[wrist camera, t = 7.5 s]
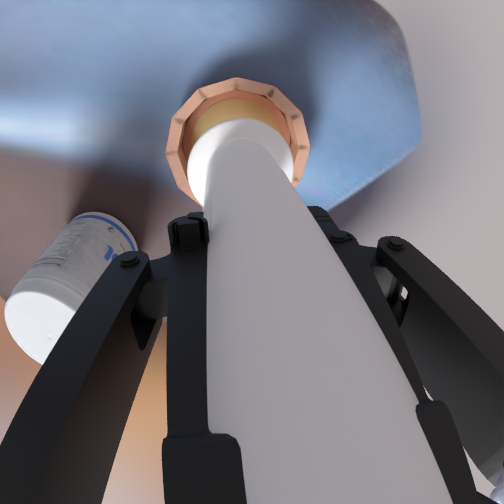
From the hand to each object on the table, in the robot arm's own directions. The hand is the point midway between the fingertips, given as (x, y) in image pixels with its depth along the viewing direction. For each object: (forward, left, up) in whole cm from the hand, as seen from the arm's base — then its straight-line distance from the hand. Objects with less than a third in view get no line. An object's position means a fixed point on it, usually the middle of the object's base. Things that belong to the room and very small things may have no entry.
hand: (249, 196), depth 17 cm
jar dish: (0, 0, -15) cm, 15 cm away
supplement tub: (+6, -18, -15) cm, 24 cm away
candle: (0, 0, -6) cm, 6 cm away
